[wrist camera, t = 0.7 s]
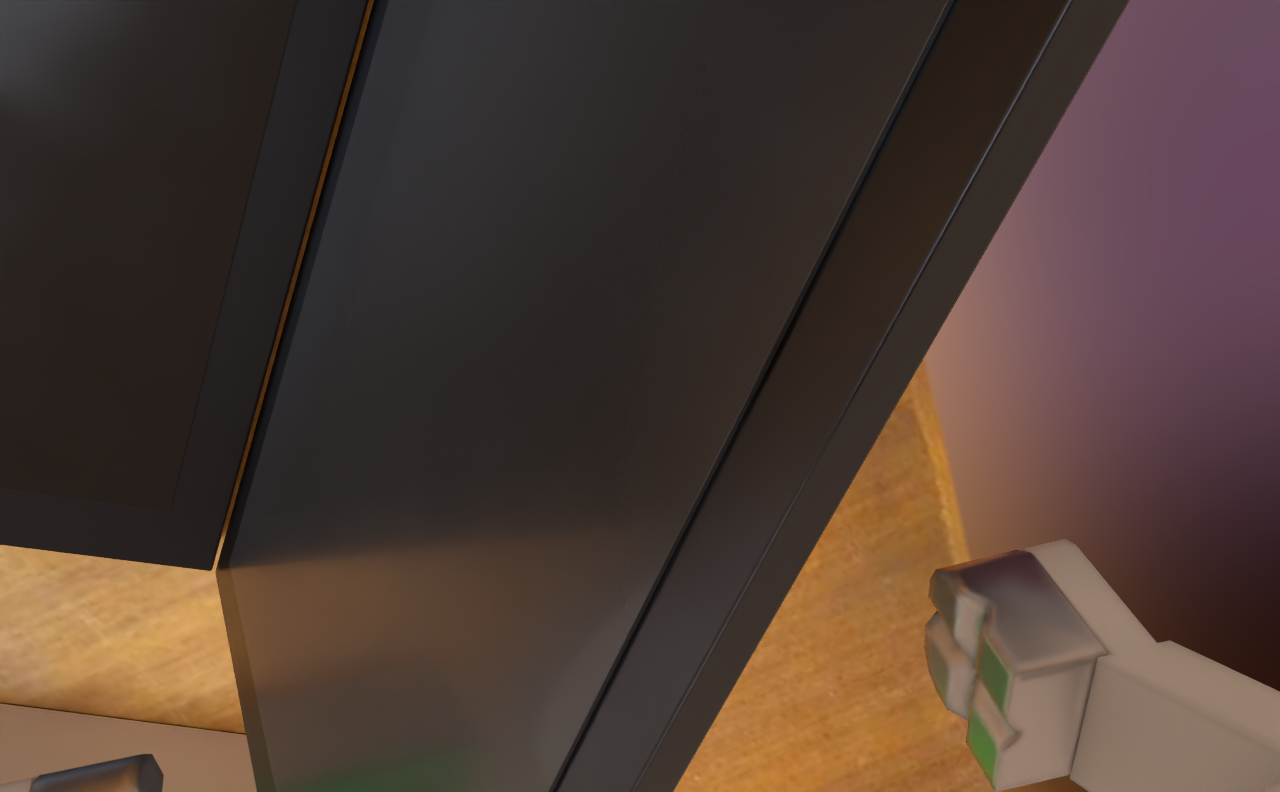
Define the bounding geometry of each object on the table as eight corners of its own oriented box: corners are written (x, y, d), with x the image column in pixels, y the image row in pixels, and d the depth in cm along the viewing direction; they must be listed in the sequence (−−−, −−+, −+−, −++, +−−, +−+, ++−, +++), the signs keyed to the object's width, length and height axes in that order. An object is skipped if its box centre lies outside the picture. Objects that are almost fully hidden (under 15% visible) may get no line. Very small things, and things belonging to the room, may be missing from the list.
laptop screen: (346, 1301, 24) (388, 1287, 25) (1192, -237, 11) (1249, -200, 11) (212, 572, 40) (238, 572, 41) (484, -419, 27) (520, -400, 27)
